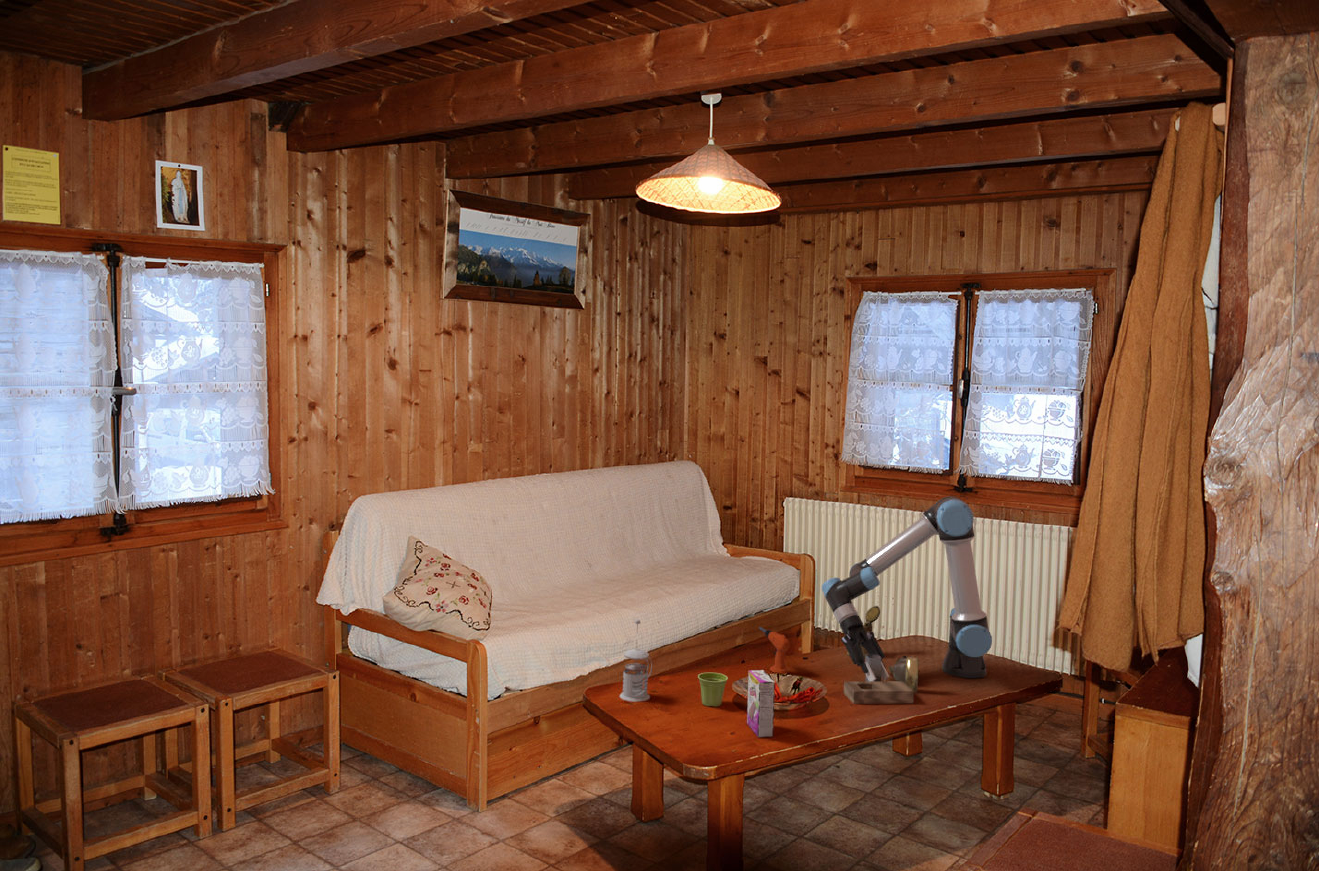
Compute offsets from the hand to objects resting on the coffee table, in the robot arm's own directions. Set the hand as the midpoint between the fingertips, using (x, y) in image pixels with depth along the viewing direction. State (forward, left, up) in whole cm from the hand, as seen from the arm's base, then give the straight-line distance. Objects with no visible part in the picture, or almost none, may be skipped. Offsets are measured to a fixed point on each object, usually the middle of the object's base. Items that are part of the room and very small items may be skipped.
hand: (879, 679), depth 322 cm
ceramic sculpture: (-14, -13, -4) cm, 19 cm away
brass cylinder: (-11, 0, -4) cm, 12 cm away
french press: (+82, +3, -4) cm, 82 cm away
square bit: (+1, -3, -4) cm, 5 cm away
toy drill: (+31, -24, -4) cm, 39 cm away
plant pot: (+59, +11, -4) cm, 60 cm away
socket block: (+3, +7, -4) cm, 8 cm away
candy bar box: (+49, +34, -4) cm, 60 cm away
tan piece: (-9, -42, -4) cm, 43 cm away
